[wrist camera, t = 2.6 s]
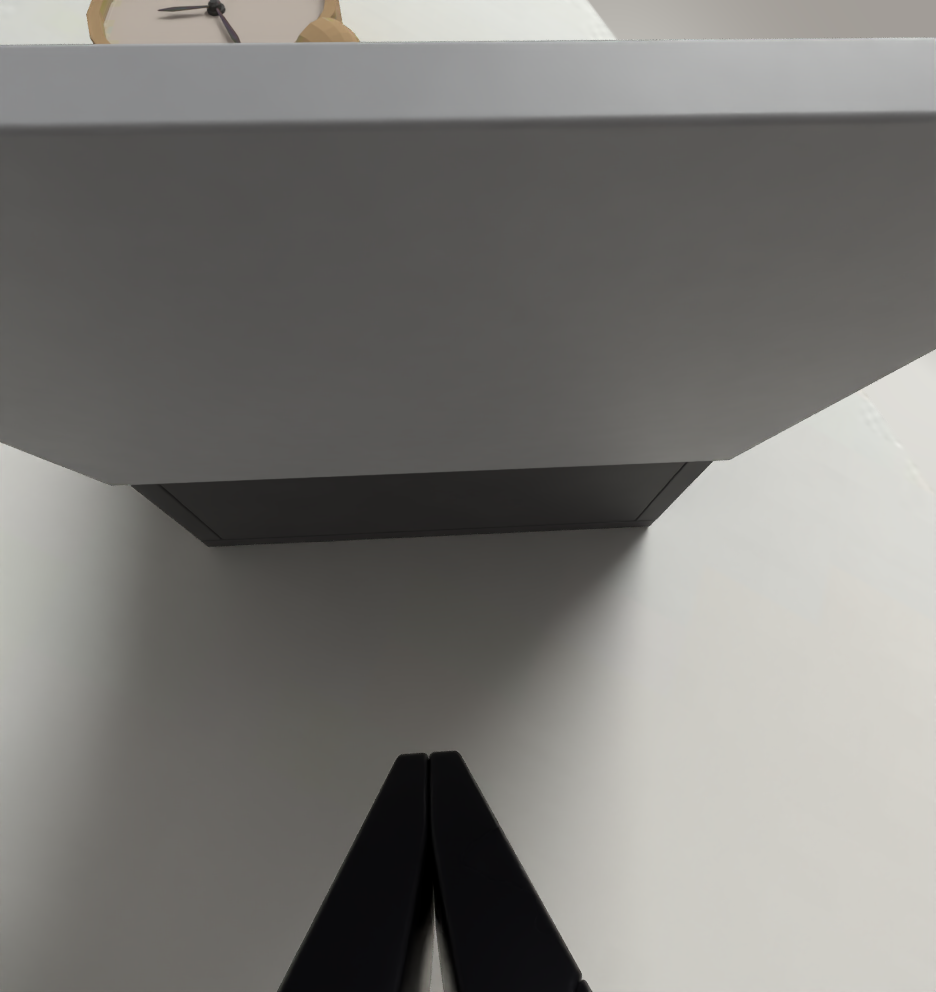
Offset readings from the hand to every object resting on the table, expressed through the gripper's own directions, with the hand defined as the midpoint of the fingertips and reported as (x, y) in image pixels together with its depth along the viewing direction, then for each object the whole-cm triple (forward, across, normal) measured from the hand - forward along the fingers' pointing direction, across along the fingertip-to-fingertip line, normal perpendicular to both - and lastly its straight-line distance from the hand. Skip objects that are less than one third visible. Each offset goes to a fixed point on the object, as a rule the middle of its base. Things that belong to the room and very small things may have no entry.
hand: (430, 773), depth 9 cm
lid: (+5, 0, -5) cm, 7 cm away
